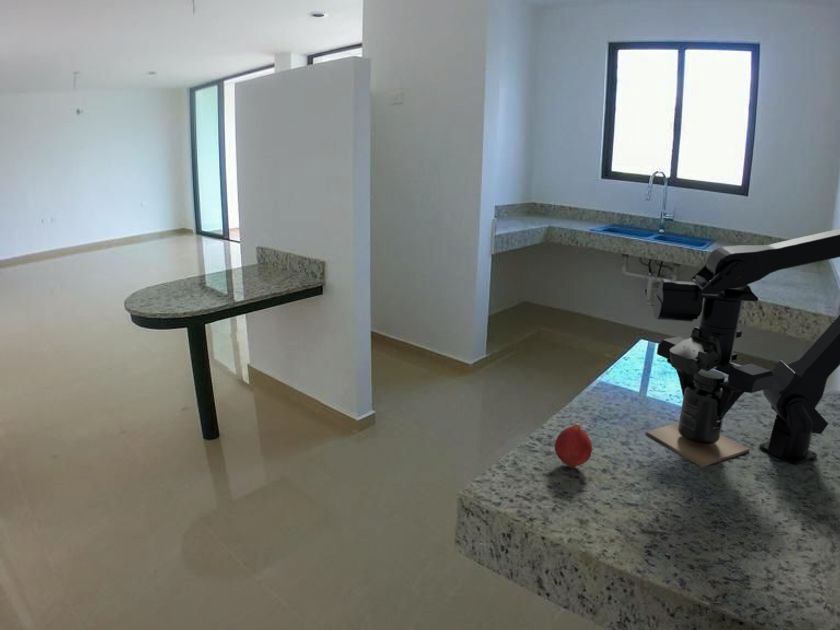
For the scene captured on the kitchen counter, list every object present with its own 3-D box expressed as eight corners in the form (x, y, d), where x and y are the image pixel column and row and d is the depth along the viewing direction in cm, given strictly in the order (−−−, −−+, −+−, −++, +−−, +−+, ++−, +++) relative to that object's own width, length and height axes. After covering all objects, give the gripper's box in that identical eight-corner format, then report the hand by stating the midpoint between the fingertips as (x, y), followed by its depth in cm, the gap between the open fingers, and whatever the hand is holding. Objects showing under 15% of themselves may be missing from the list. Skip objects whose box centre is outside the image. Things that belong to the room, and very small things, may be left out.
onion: (550, 471, 93) (554, 427, 90) (556, 454, 98) (560, 412, 95) (587, 480, 90) (592, 435, 88) (591, 462, 96) (596, 419, 93)
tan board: (691, 421, 110) (691, 419, 110) (748, 451, 100) (749, 449, 100) (645, 433, 105) (646, 431, 105) (701, 467, 95) (702, 464, 95)
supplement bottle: (724, 447, 98) (737, 383, 95) (682, 442, 99) (693, 379, 96) (713, 428, 105) (724, 368, 101) (673, 424, 106) (683, 364, 102)
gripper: (640, 313, 100) (629, 394, 105) (737, 348, 84) (719, 442, 89) (685, 306, 105) (672, 384, 110) (785, 338, 89) (765, 427, 94)
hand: (703, 407), depth 100 cm, fingers closed on supplement bottle, 7 cm apart
